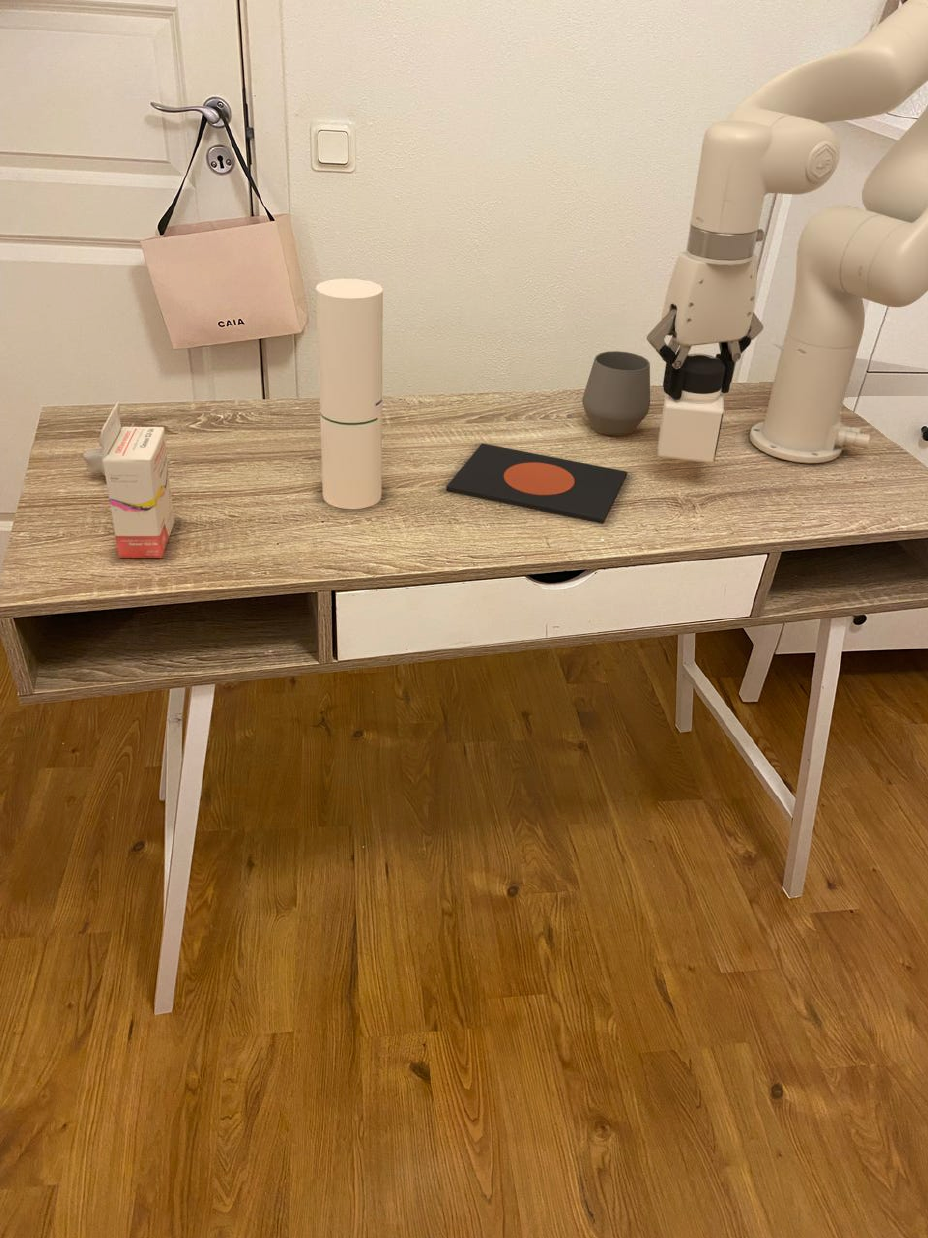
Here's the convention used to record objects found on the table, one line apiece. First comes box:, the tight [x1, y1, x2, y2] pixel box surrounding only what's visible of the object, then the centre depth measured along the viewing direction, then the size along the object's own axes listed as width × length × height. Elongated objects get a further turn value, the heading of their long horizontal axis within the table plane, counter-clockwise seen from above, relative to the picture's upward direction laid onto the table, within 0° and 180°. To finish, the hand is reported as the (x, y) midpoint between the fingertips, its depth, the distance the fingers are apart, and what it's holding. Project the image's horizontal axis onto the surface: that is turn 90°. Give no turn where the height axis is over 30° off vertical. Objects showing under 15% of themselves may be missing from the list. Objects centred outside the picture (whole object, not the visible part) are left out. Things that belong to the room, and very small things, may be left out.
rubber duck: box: [82, 422, 114, 477], centre depth 120 cm, size 5×7×8 cm
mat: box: [445, 443, 628, 524], centre depth 127 cm, size 20×14×1 cm
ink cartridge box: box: [100, 401, 175, 559], centre depth 106 cm, size 9×5×15 cm, turn 5°
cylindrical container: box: [315, 278, 384, 510], centre depth 115 cm, size 7×7×25 cm
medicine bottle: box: [656, 352, 725, 464], centre depth 125 cm, size 7×7×12 cm
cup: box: [581, 350, 651, 437], centre depth 139 cm, size 10×9×10 cm
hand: (695, 390), depth 124 cm, fingers closed on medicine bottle, 6 cm apart
